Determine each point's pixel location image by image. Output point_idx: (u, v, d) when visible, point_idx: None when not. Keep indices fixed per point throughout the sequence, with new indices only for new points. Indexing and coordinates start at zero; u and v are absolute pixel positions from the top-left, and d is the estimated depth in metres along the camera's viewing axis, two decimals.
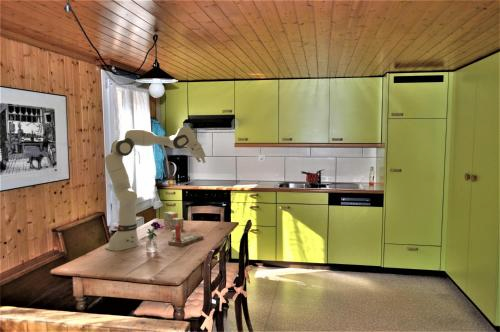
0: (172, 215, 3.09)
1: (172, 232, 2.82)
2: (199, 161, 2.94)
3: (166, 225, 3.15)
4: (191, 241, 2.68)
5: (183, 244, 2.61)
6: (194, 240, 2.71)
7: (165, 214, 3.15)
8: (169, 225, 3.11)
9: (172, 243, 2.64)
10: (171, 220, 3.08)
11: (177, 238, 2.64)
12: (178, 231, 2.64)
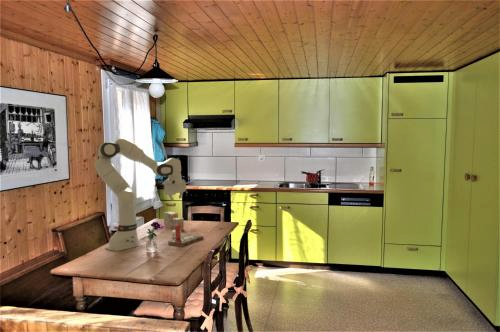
0: (172, 215, 3.09)
1: (172, 232, 2.82)
2: (179, 197, 2.86)
3: (166, 225, 3.15)
4: (191, 241, 2.68)
5: (183, 244, 2.61)
6: (194, 240, 2.71)
7: (165, 214, 3.15)
8: (169, 225, 3.11)
9: (172, 243, 2.64)
10: (171, 220, 3.08)
11: (177, 238, 2.64)
12: (178, 231, 2.64)
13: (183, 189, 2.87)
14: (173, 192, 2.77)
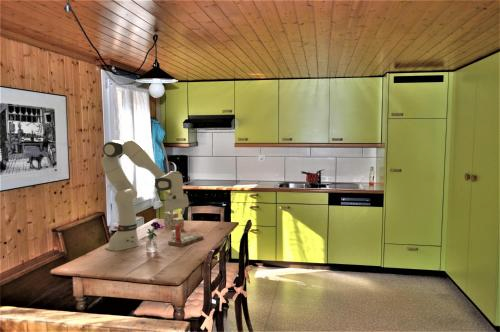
0: None
1: (172, 232, 2.82)
2: (181, 213, 2.68)
3: (166, 225, 3.15)
4: (191, 241, 2.68)
5: (183, 244, 2.61)
6: (194, 240, 2.71)
7: (165, 214, 3.15)
8: (169, 225, 3.11)
9: (172, 243, 2.64)
10: (171, 220, 3.08)
11: (177, 238, 2.64)
12: (178, 231, 2.64)
13: (185, 205, 2.68)
14: (174, 208, 2.59)
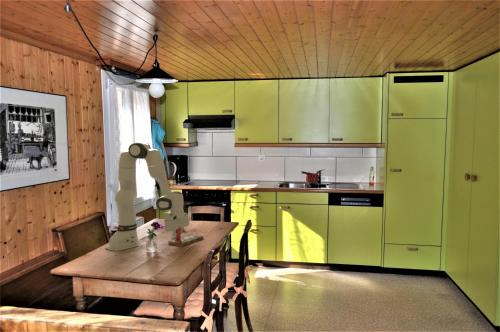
0: None
1: (172, 232, 2.82)
2: None
3: None
4: (191, 241, 2.68)
5: (183, 244, 2.61)
6: (194, 240, 2.71)
7: (165, 214, 3.15)
8: None
9: (172, 243, 2.64)
10: None
11: (177, 238, 2.64)
12: (178, 231, 2.64)
13: (185, 224, 2.69)
14: (174, 228, 2.60)
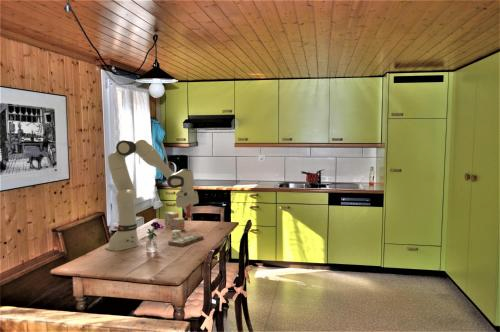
0: (173, 215, 3.09)
1: (172, 232, 2.82)
2: None
3: (167, 225, 3.15)
4: (191, 241, 2.68)
5: (183, 244, 2.61)
6: (194, 240, 2.71)
7: (166, 214, 3.15)
8: (170, 225, 3.10)
9: (172, 243, 2.64)
10: (172, 220, 3.08)
11: (187, 214, 2.72)
12: (188, 208, 2.72)
13: (195, 202, 2.77)
14: (185, 204, 2.68)
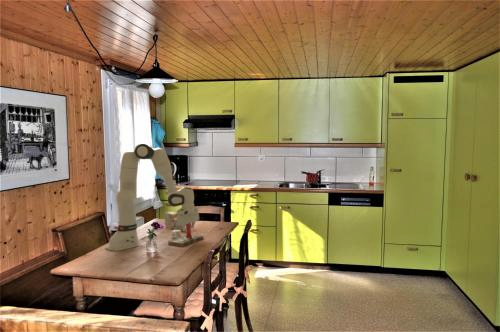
0: (173, 215, 3.08)
1: (172, 232, 2.82)
2: (191, 227, 2.77)
3: (167, 225, 3.14)
4: (191, 241, 2.68)
5: (183, 244, 2.61)
6: (194, 240, 2.71)
7: (166, 214, 3.15)
8: (170, 225, 3.10)
9: (172, 243, 2.64)
10: (172, 220, 3.07)
11: (188, 234, 2.73)
12: (189, 228, 2.73)
13: (196, 219, 2.78)
14: (185, 223, 2.69)
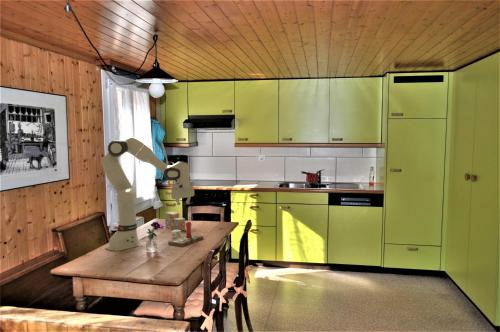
0: (174, 215, 3.08)
1: (172, 232, 2.82)
2: (186, 202, 2.80)
3: (167, 225, 3.14)
4: (191, 241, 2.68)
5: (183, 244, 2.61)
6: (194, 240, 2.71)
7: (166, 214, 3.14)
8: (170, 225, 3.10)
9: (172, 243, 2.64)
10: (173, 220, 3.07)
11: (188, 234, 2.73)
12: (189, 228, 2.73)
13: (191, 194, 2.80)
14: (180, 197, 2.71)
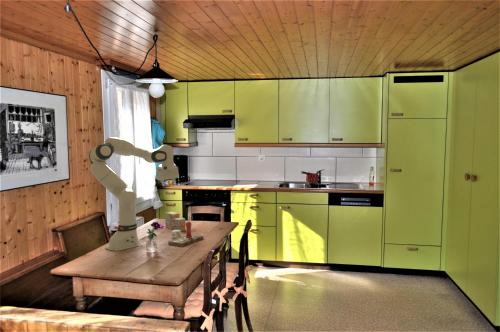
0: (174, 215, 3.08)
1: (172, 232, 2.82)
2: (171, 183, 2.94)
3: (167, 225, 3.14)
4: (191, 241, 2.68)
5: (183, 244, 2.61)
6: (194, 240, 2.71)
7: (166, 214, 3.14)
8: (171, 225, 3.10)
9: (172, 243, 2.64)
10: (173, 220, 3.07)
11: (188, 234, 2.73)
12: (189, 227, 2.73)
13: (175, 176, 2.94)
14: (165, 178, 2.85)
